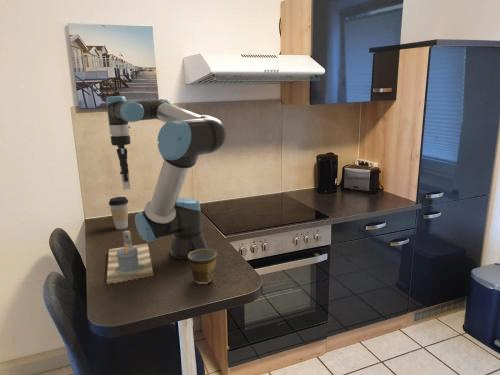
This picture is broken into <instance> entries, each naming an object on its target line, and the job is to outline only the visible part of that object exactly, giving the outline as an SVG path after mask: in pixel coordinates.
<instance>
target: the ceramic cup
mask: <svg viewBox="0 0 500 375" xmlns="http://www.w3.org/2000/svg"><path fill="white" fill-rule="evenodd" d="M187 261H188V263H189V267H190V270H191V273H192V278H193V280H195V281H198V282H208V281H210V280H212V279H213V280H214V274H215V268H216V262H217V252H216V251H215V250H214V249H210V248H207V249H199V250H195V251H189V252H188V260H187ZM195 281H194V282H195Z"/></svg>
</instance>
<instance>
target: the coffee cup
mask: <svg viewBox="0 0 500 375" xmlns="http://www.w3.org/2000/svg"><path fill="white" fill-rule="evenodd" d="M127 198H128V197H125V196H116V197H112V198H110V199H109V201H108V205H109V206H110V212H111V217H112V220H113V223H114V227H115V229H116V230H124V229H127V228H128V226H129V224H128V222H129V220H128V217H129V208H128V203H129V199H127Z"/></svg>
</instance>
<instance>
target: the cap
mask: <svg viewBox="0 0 500 375" xmlns="http://www.w3.org/2000/svg"><path fill="white" fill-rule="evenodd" d="M117 258H118V264H119V271H122V272H129V271H134V270H136V269H137V268H139V264H138V251H137V249H136V248H128V247H125V248H124V249H121V250H119V251H118V252H117Z"/></svg>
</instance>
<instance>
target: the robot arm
mask: <svg viewBox="0 0 500 375" xmlns="http://www.w3.org/2000/svg"><path fill="white" fill-rule="evenodd" d="M105 101H106V111H107V116H108V118H107V119H108V127H109V129H108V130H109V135H110V142H111V145H112V146H114V147H115V146H116V147H117V148H116V153H117V157H118V160H119V169H120V171H119V175H120V177H121V178H120V179H121V183H122V188H123V190H124V191H125V190H131V183H130V173H129V172H130V171H129V164H128V149H127V148H126V146H127V145H131V136H130V129H131V126H130V125H129V123H137V122H140V121H147V120H148V121H149V120H158V121H161V122H163V123H165V124H163V125H162V126H161V128H159V131H158V135H157V142H158V143H157V148H158V152H159V153H160V155H161V157H162V159H163V162H162V164H161V168H160V172H159V175H158V178H157V182H156V185H155V188H154V191H153V193H152V194H153V195H152V197H151V200H150V201H147V203H146V204H145V206H144V209H143V211H139V212H138V213H136V214H135V216H134V223H135V226H136V230H137V232H138V234H139V236H140V238H141V240H143V241H145V242H146V243H147V242H148V243H149V242H153V241H157V240H159V239H163V238H166V237H170V236H172V235H173V238H172V242H171V247H170V255H171V257H172V258H174V259H176V258H177V260H181V259H188V252H189V251H195V250H199V249H208V244H207V242H206V240H205V237H204V235H203V226H202V215H201V214H202V213H201V211H202V210H201V204H200V201H199V200H197V199H196V198H192V197H179V196H180V193H181V190H182V188H183V184H184V182H185V179H186V176H187V174H188V171H189V169H192V168H193V167H194V166H195V165H196V164H197V161H198V158H199V156H202V155H206V154H211V153H215V152H216V151H218V150H220V149H221V148H222V146H223V145H224V144H225V142H226V138H227V130H226V126H225V125H224V123H223V122H222V121H221V120H219V119H218V118H216V117H214V116H212V115H207V114H203V115H200V114H198V113H195V112H193V111H190V110H186V109H184V108H182V107H180V106H179V107H178V106H176V105H174V103H173V102H172V101H171V100H169V99H152V100H131V101H130V100H128V101H127V98H126V96H124V95H115V96H113V95H112V96H110V95H109V96H107V97H106V99H105Z"/></svg>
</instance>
